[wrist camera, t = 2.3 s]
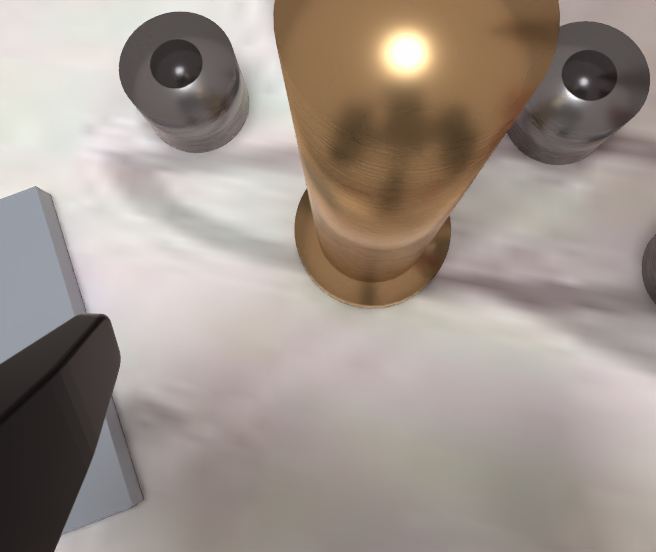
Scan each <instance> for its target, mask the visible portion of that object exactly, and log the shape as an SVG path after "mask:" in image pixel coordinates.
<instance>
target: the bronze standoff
mask: <svg viewBox="0 0 656 552" xmlns="http://www.w3.org/2000/svg"><path fill="white" fill-rule="evenodd" d="M559 26H560V11H559V2H558V0H275V4H274V32H275V38H276V44H277V49H278V54H279V58H280V63H281V68H282V73H283V77H284V82H285V87H286V91H287V96H288V101H289V106H290V110H291V115H292V120H293V124H294V129H295V134H296V138H297V143H298V148H299V153H300V157H301V162H302V167H303V171H304V176H305V181H306V186H307V189H306V191H305V192H304V194H303V196H302V198H301V200H300V203H299V206H298V209H297V213H296V218H295V240H296V246H297V249H298V252H299V256H300V258H301V260H302V263H303V265H304V267H305V269H306V271H307V272H308V274H309V276H310V277H311V278H312V280H313V281H314V282H315V283H316V284H317V285H318V286H319V287H320V288H321V289H322V290H323V291H324V292H325V293H327V294H328V295H330V296H331V297H333V298H335V299H337V300H338V301H340V302H343V303H346V304H348V305H352V306H356V307H361V308H382V307H388V306H392V305H395V304H398V303H401V302H403V301H405V300H407V299H409V298H411V297H412V296H414V295H415V294H417V293H418V292H419V291H420V290H421V289H423V288H424V287H425V286H426V285H427V284H428V283H429V282H430V281H431V280H432V278H433V277H434V276H435V275H436V273H437V272H438V271H439V269H440V268H441V266H442V264H443V262H444V260H445V257H446V255H447V252H448V249H449V243H450V237H451V224H450V216H449V215H450V213H451V212H452V210H453V209H454V208H455V206H456V205H457V203H458V202H459V200H460V199H461V197H462V196H463V195H464V193H465V192H466V190H467V189H468V187H469V186H470V184H471V183H472V182H473V180H474V179H475V177H476V176H477V174H478V173H479V171H480V170H481V169H482V167H483V166H484V164H485V163H486V161H487V160H488V159H489V157H490V156H491V154H492V153H493V151H494V150H495V148H496V147H497V146H498V144H499V143H500V141H501V140H502V138H503V137H504V135H505V134H506V133H507V131H508V130H509V128H510V127H511V125H512V124H513V122H514V121H515V120H516V118H517V117H518V115H519V114H520V112H521V111H522V109H523V108H524V107H525V105H526V104H527V102H528V101H529V99H530V98H531V97H532V95H533V94H534V92H535V91H536V89H537V88H538V86H539V85H540V84H541V82H542V81H543V79H544V77H545V75H546V73H547V71H548V69H549V67H550V65H551V62H552V59H553V56H554V53H555V50H556V47H557V41H558V36H559Z"/></svg>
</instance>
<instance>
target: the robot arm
mask: <svg viewBox="0 0 656 552" xmlns="http://www.w3.org/2000/svg"><path fill="white" fill-rule="evenodd" d="M120 360H121V357H120V351H119V347H118V344H117V341H116V337H115V334H114V330H113V327H112V324H111V321H110V319H109V318H108V316H106V315H104V314H90V313H82V314H78V315H76V316H74V317H73V318H71V319H69V320H68V321H66V322H65V323H63V324H62V325H60V326H59V327H57V328H55V329H54V330H52V331H51V332H49V333H48V334H46V335H44V336H43V337H41V338H40V339H38V340H37V341H35V342H33V343H32V344H30V345H29V346H27V347H26V348H24V349H23V350H21V351H19V352H18V353H16V354H15V355H13V356H12V357H10V358H8V359H7V360H5V361H4V362H2V363H1V364H0V552H54V551H55V549H56V546H57V544H58V541H59V539H60V537H61V534H62V532H63V529H64V527H65V525H66V522H67V520H68V517H69V515H70V513H71V510H72V508H73V505H74V503H75V501H76V498H77V496H78V493H79V491H80V489H81V486H82V484H83V481H84V479H85V477H86V474H87V472H88V469H89V467H90V464H91V462H92V459H93V456H94V453H95V450H96V447H97V444H98V441H99V437H100V434H101V430H102V427H103V423H104V420H105V417H106V413H107V410H108V406H109V403H110V399H111V396H112V392H113V389H114V385H115V382H116V379H117V375H118V372H119V368H120Z"/></svg>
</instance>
